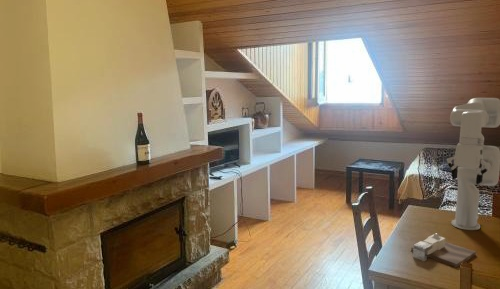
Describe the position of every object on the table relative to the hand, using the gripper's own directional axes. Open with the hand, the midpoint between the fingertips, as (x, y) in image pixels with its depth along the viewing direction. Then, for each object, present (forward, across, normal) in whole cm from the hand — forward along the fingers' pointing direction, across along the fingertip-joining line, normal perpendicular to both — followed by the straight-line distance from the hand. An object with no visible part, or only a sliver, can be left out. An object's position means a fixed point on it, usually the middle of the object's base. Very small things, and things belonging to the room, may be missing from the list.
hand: (466, 181), depth 162 cm
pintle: (+29, +6, +10) cm, 31 cm away
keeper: (+30, +6, +21) cm, 37 cm away
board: (+30, +2, +10) cm, 32 cm away
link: (+29, +6, +14) cm, 33 cm away
